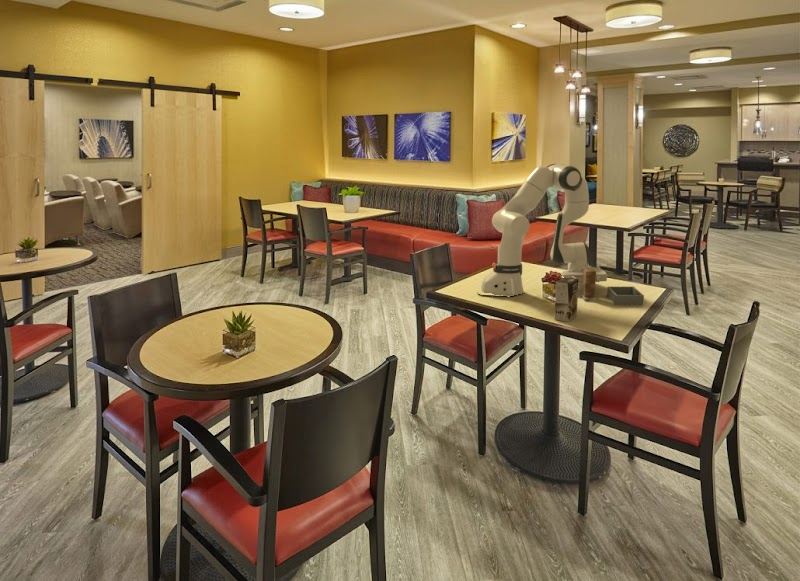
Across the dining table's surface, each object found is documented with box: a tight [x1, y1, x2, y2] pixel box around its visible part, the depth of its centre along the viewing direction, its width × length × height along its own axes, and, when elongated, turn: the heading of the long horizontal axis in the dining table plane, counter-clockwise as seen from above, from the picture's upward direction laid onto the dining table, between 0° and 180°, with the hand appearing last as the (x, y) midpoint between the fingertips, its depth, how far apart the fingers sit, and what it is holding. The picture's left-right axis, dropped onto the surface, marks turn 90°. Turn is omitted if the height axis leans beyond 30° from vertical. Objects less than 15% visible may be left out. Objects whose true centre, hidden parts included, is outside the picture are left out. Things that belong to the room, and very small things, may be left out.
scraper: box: [580, 269, 597, 302], centre depth 254 cm, size 5×9×13 cm, turn 173°
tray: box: [606, 285, 645, 306], centre depth 251 cm, size 12×16×4 cm
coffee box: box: [553, 278, 579, 323], centre depth 228 cm, size 9×6×16 cm
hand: (587, 280), depth 258 cm, fingers open, 8 cm apart
